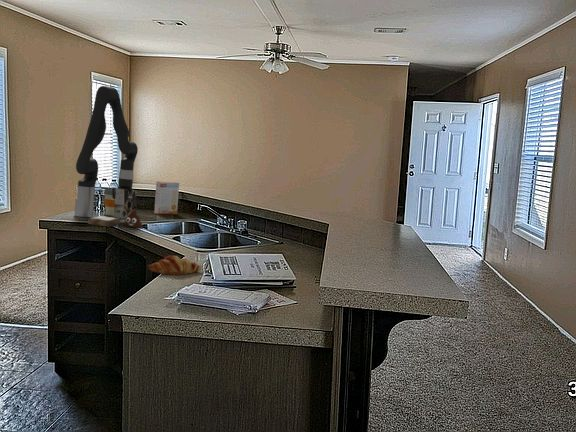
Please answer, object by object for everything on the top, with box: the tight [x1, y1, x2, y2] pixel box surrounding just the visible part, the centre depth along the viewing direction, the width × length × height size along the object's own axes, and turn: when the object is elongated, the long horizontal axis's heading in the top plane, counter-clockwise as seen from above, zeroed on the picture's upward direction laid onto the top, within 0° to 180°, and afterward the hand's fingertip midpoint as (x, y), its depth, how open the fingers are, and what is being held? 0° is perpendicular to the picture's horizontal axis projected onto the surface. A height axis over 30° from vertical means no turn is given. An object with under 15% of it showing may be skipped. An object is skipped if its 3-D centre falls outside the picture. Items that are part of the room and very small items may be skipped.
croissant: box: [147, 255, 203, 276], centre depth 225 cm, size 21×10×8 cm, turn 122°
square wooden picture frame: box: [87, 215, 121, 228], centre depth 320 cm, size 12×12×3 cm
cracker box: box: [153, 180, 180, 215], centre depth 386 cm, size 14×6×21 cm, turn 133°
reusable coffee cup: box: [103, 188, 115, 217], centre depth 359 cm, size 12×13×15 cm
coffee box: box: [113, 187, 135, 220], centre depth 330 cm, size 9×6×16 cm
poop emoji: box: [123, 209, 143, 229], centre depth 321 cm, size 10×8×9 cm
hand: (123, 207), depth 330 cm, fingers closed on coffee box, 6 cm apart
